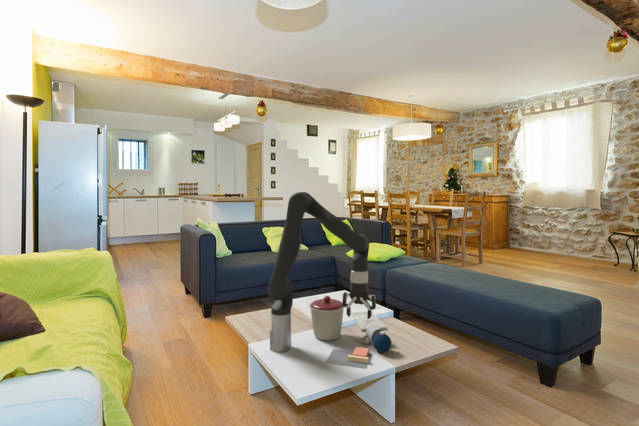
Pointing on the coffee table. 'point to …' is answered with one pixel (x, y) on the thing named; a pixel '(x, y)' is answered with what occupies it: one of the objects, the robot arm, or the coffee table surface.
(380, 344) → the christmas ornament
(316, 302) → the canister
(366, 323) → the envelope
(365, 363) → the mat
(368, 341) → the ceramic mug
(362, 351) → the box
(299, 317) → the coffee table surface
